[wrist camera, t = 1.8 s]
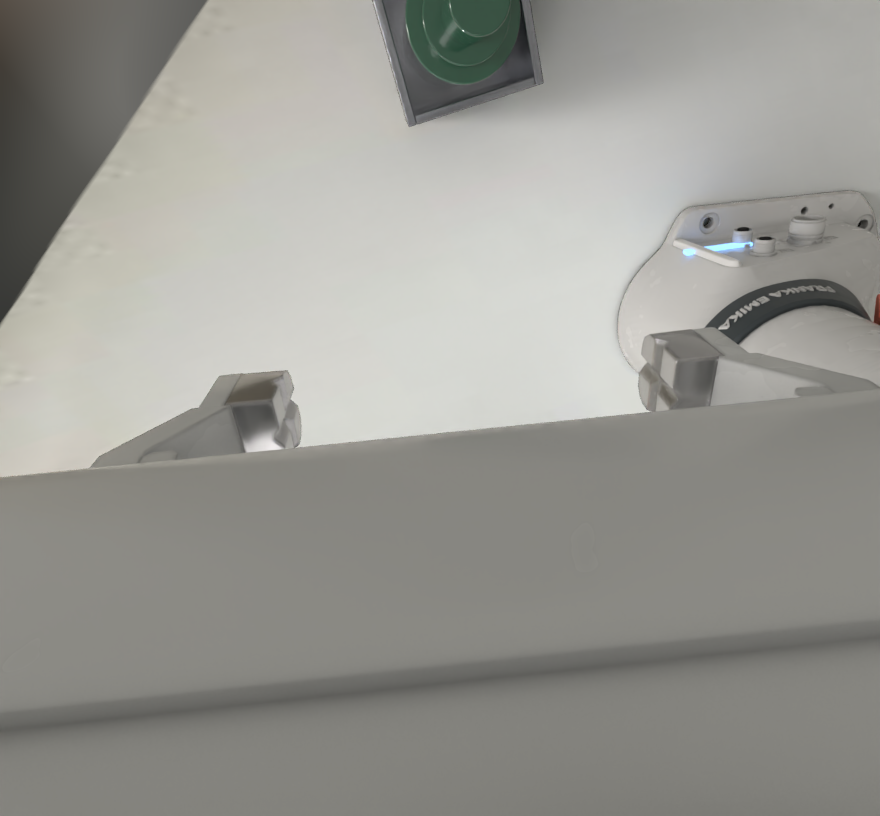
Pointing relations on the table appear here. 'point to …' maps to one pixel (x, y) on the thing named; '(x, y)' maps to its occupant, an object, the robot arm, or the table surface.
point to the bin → (438, 101)
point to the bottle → (459, 38)
